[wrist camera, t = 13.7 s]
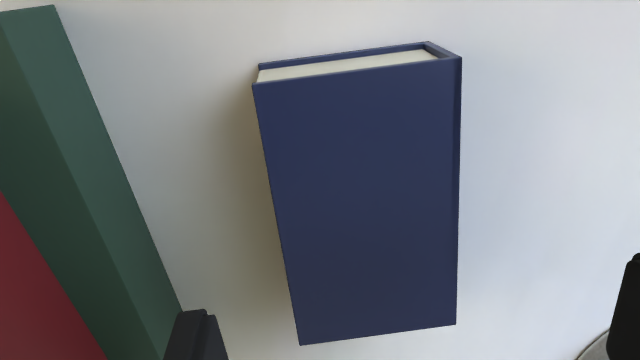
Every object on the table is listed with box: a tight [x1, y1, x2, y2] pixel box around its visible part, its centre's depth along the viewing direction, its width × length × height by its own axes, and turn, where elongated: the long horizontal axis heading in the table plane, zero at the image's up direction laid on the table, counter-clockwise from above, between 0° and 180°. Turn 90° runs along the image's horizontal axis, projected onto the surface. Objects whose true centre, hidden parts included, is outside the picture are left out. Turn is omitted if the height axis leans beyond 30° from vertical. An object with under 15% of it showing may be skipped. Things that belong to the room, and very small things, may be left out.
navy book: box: [252, 41, 462, 346], centre depth 18 cm, size 7×11×4 cm, turn 7°
